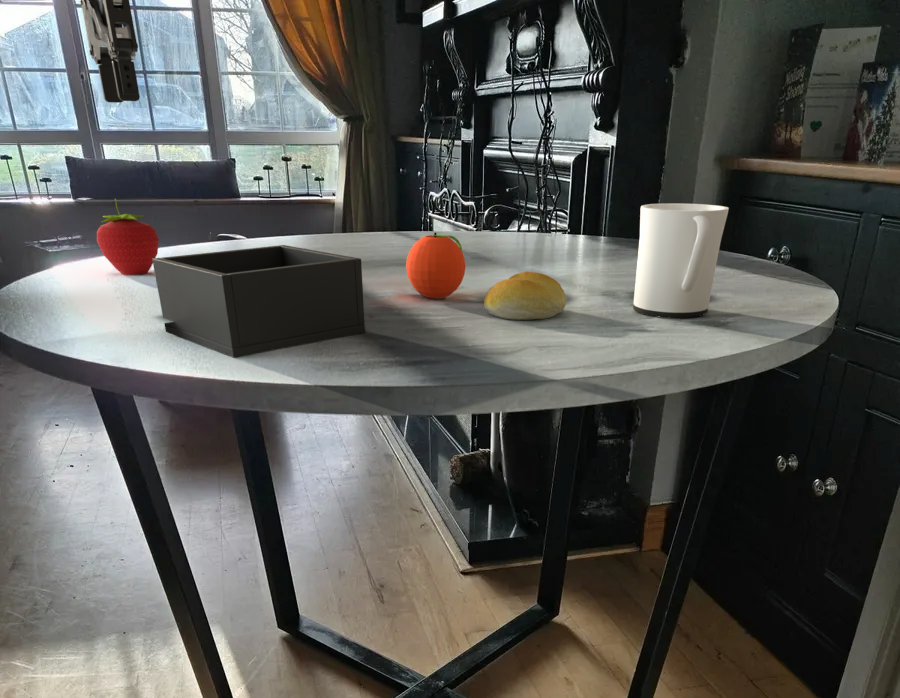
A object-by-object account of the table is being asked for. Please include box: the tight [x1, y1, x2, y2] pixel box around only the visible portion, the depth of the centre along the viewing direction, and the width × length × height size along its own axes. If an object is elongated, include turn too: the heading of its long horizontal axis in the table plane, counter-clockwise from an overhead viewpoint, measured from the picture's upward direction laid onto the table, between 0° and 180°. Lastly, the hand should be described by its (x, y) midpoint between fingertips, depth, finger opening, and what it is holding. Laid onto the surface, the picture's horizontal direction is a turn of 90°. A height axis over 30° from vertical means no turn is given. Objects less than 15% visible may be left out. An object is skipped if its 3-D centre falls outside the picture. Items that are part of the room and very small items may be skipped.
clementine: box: [405, 232, 466, 300], centre depth 91 cm, size 8×7×7 cm
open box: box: [152, 244, 366, 358], centre depth 75 cm, size 15×14×7 cm
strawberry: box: [96, 198, 160, 276], centre depth 98 cm, size 6×8×10 cm
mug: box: [632, 203, 730, 319], centre depth 83 cm, size 11×9×10 cm
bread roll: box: [483, 271, 567, 321], centre depth 84 cm, size 8×9×4 cm
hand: (122, 101), depth 91 cm, fingers open, 8 cm apart
